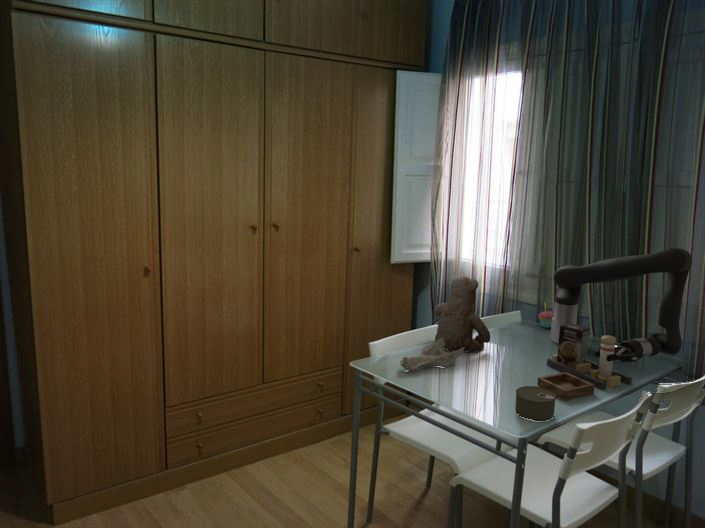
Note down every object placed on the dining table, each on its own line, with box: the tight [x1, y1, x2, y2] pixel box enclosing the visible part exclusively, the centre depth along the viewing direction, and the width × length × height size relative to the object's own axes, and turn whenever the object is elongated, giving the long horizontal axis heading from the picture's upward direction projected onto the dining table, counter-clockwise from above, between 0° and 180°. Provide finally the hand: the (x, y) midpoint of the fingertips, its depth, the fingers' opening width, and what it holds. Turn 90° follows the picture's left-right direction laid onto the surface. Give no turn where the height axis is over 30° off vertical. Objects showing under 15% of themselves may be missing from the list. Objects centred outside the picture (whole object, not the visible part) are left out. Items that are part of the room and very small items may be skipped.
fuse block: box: [546, 353, 633, 391], centre depth 223 cm, size 28×14×3 cm, turn 26°
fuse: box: [597, 334, 617, 383], centre depth 214 cm, size 5×5×16 cm
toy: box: [433, 275, 491, 353], centre depth 249 cm, size 26×20×30 cm
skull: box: [399, 338, 465, 372], centre depth 228 cm, size 12×8×25 cm
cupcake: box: [537, 300, 554, 329], centre depth 281 cm, size 9×8×12 cm
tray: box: [536, 372, 596, 401], centre depth 207 cm, size 13×13×3 cm
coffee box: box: [556, 323, 591, 369], centre depth 228 cm, size 9×6×16 cm
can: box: [515, 385, 557, 421], centre depth 188 cm, size 12×12×7 cm
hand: (601, 356), depth 213 cm, fingers closed on fuse, 4 cm apart
